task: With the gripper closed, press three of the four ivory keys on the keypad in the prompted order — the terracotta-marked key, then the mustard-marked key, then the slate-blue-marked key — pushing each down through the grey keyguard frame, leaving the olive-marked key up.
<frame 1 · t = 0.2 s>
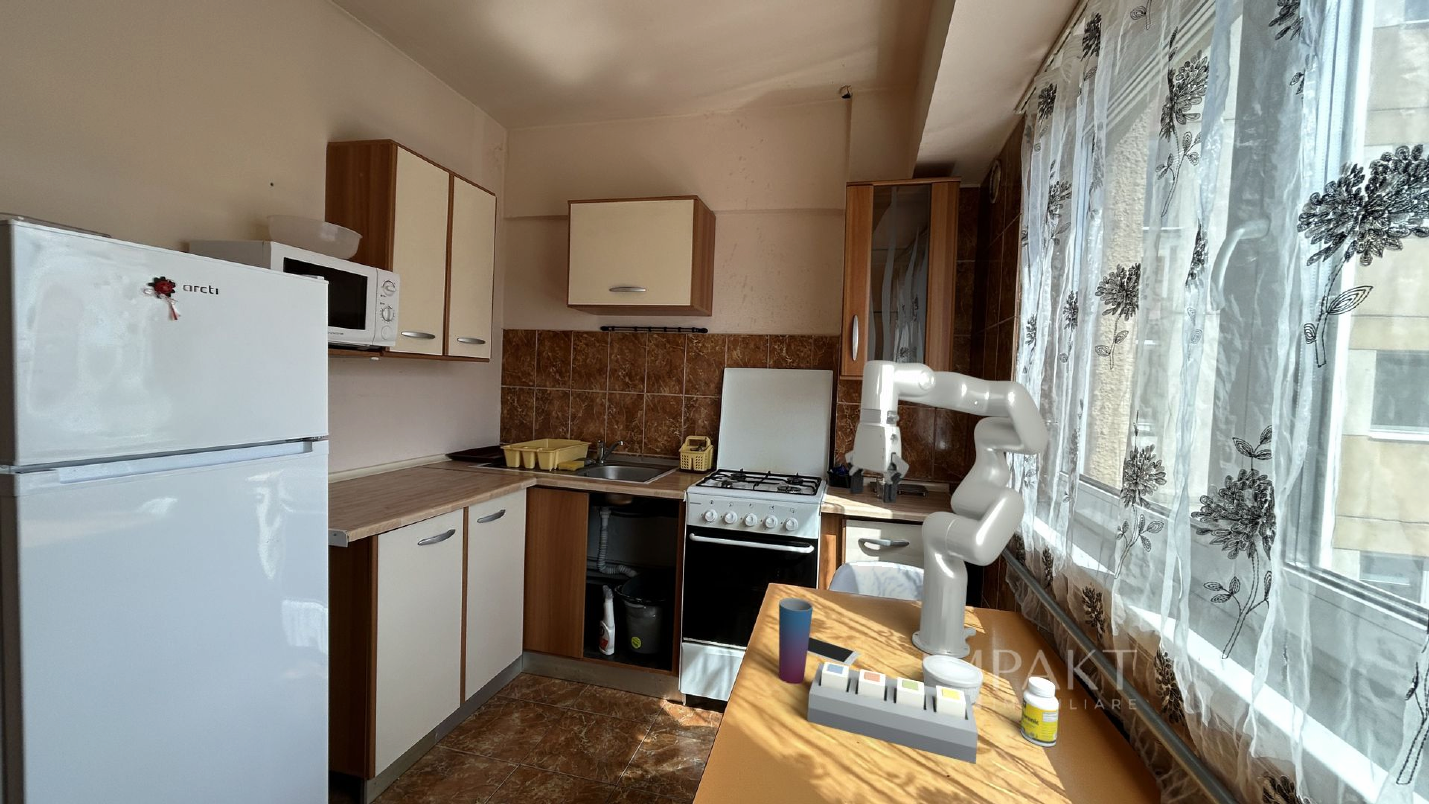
hand: (872, 498, 118), 36 cm above the table, tool pointing down, fingers open, 9 cm apart
key terracotta: (871, 685, 99), point 6 cm above the table, slide at 0.0 cm
key olive: (910, 693, 97), point 6 cm above the table, slide at 0.0 cm
keypad: (888, 722, 98), on the table
supplement bottle: (1037, 739, 96), on the table
key slate: (835, 676, 102), point 6 cm above the table, slide at 0.0 cm
key mustard: (950, 702, 95), point 6 cm above the table, slide at 0.0 cm
ramekin: (950, 695, 109), on the table
cup: (791, 678, 112), on the table
smartphone: (823, 652, 125), on the table
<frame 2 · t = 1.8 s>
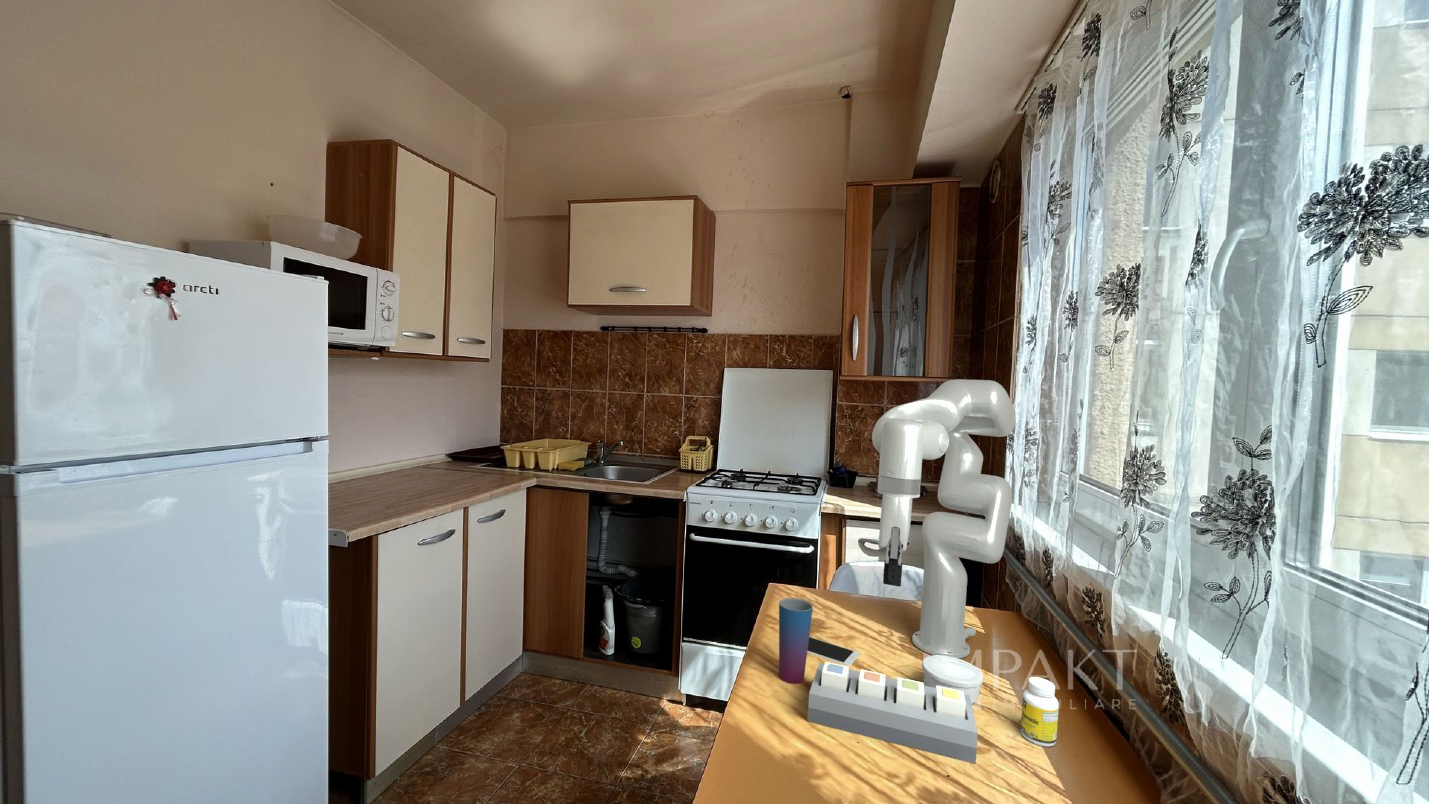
hand: (891, 583, 104), 23 cm above the table, tool pointing down, fingers closed
nothing on the table moved.
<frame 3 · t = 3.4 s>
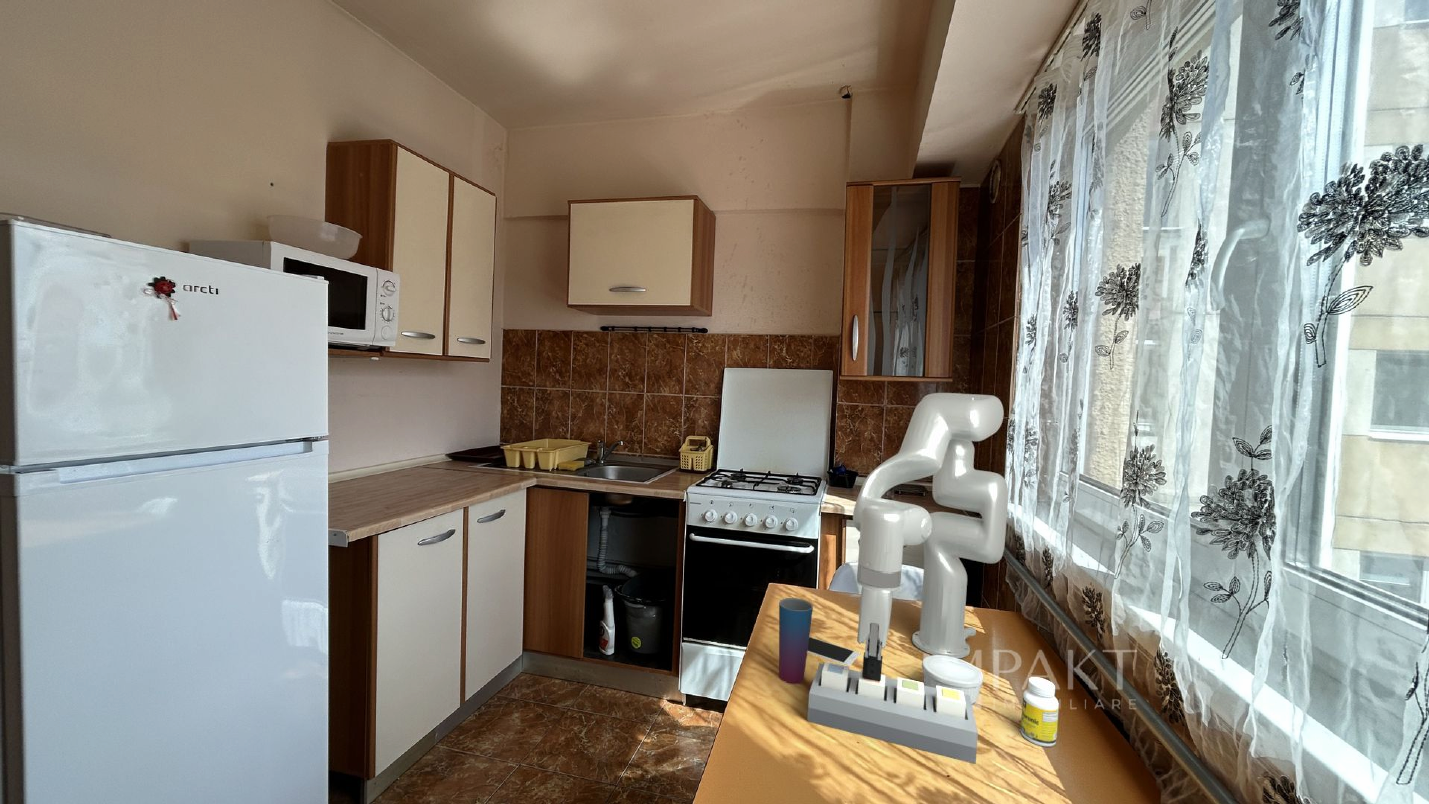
hand: (871, 677, 99), 7 cm above the table, tool pointing down, fingers closed
key terracotta: (871, 685, 99), point 6 cm above the table, slide at -0.2 cm, touching gripper
everything else where it was.
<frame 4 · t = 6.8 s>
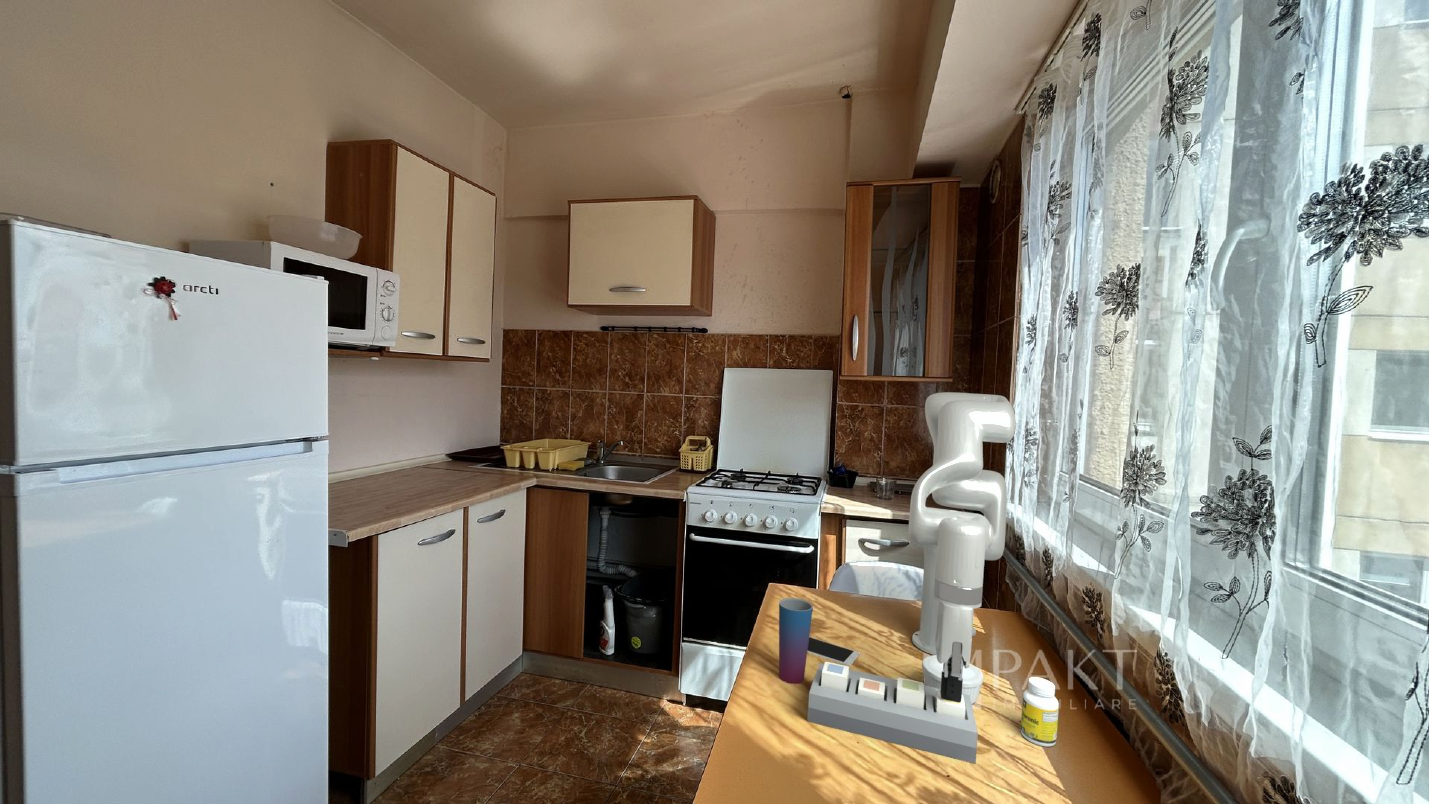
hand: (950, 698, 95), 7 cm above the table, tool pointing down, fingers closed
key terracotta: (871, 693, 99), point 4 cm above the table, slide at -1.6 cm
key mustard: (949, 706, 95), point 5 cm above the table, slide at -0.7 cm, touching gripper
everything else where it was.
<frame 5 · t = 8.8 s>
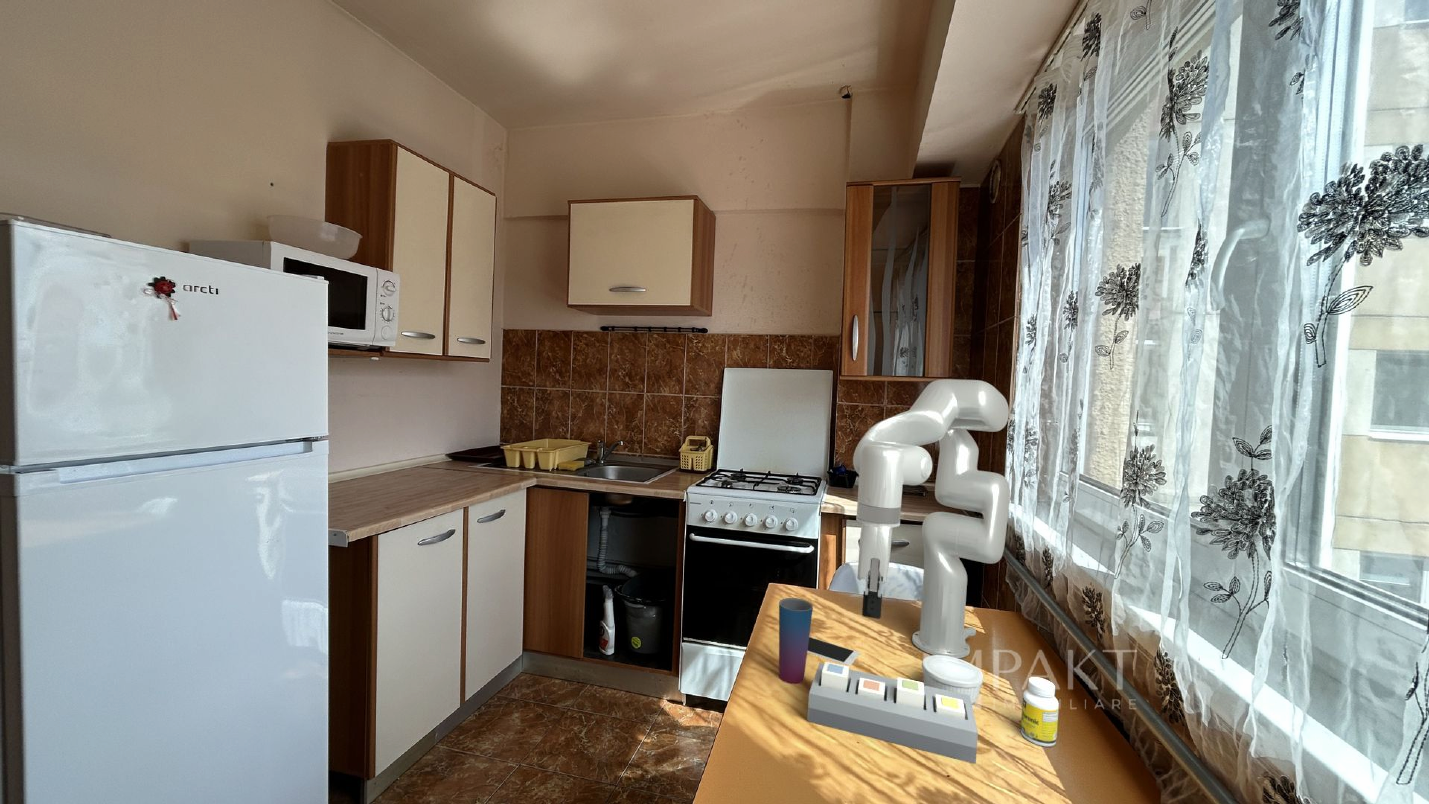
hand: (871, 615, 99), 18 cm above the table, tool pointing down, fingers closed
key mustard: (949, 711, 95), point 4 cm above the table, slide at -1.6 cm
everything else where it was.
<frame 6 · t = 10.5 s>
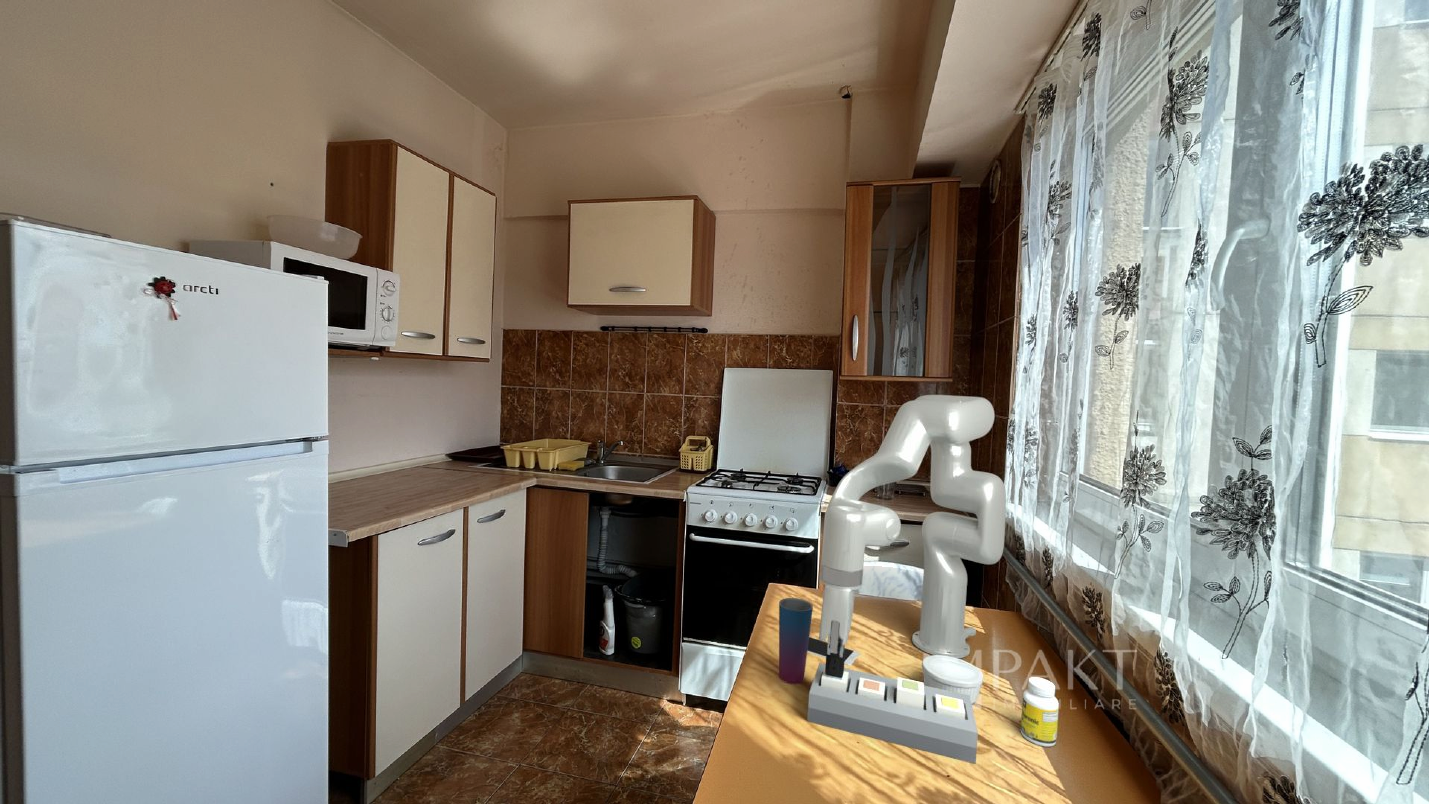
hand: (834, 674, 101), 7 cm above the table, tool pointing down, fingers closed
key slate: (834, 682, 102), point 5 cm above the table, slide at -1.1 cm, touching gripper
everything else where it was.
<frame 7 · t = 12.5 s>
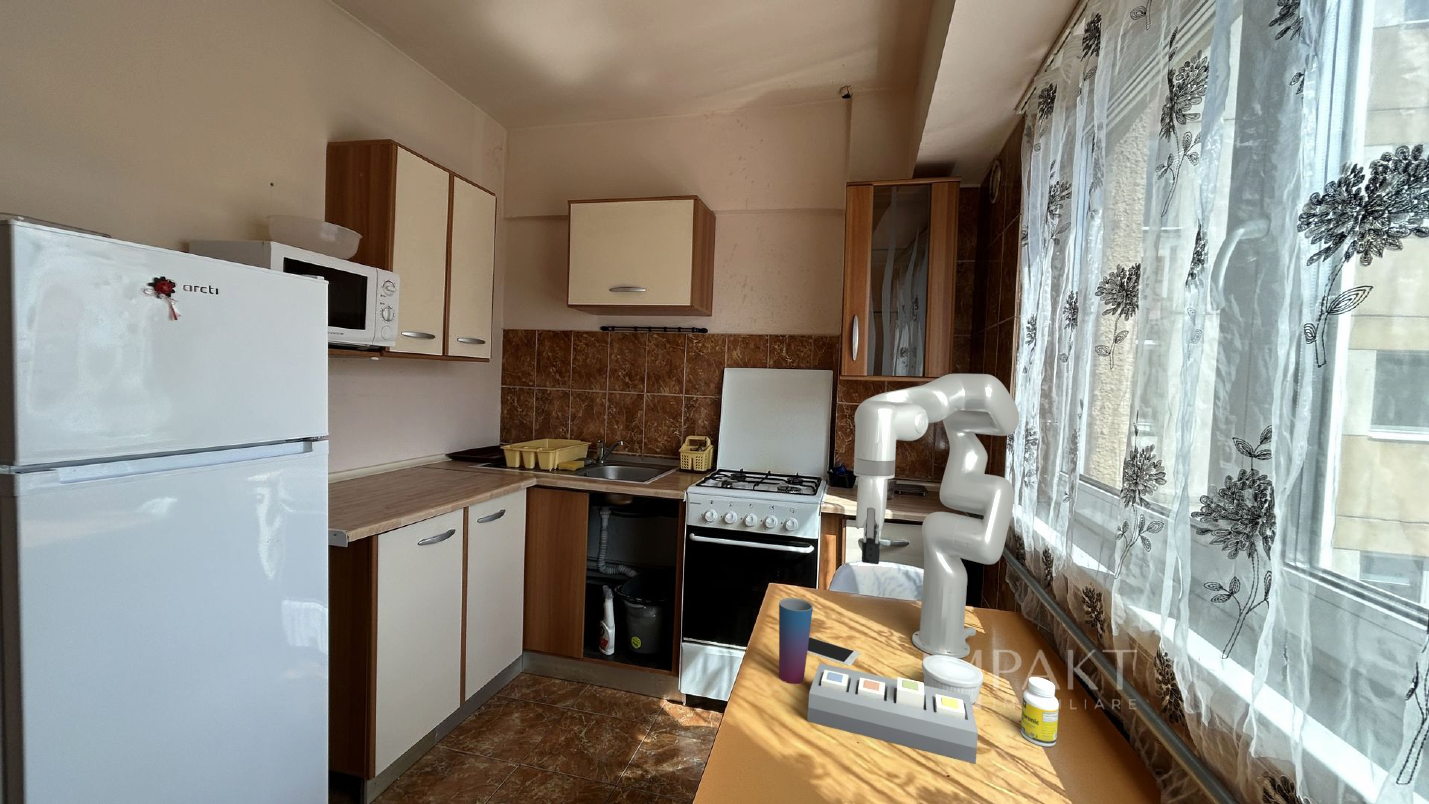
hand: (870, 561, 107), 26 cm above the table, tool pointing down, fingers closed
key slate: (834, 685, 102), point 4 cm above the table, slide at -1.6 cm
everything else where it was.
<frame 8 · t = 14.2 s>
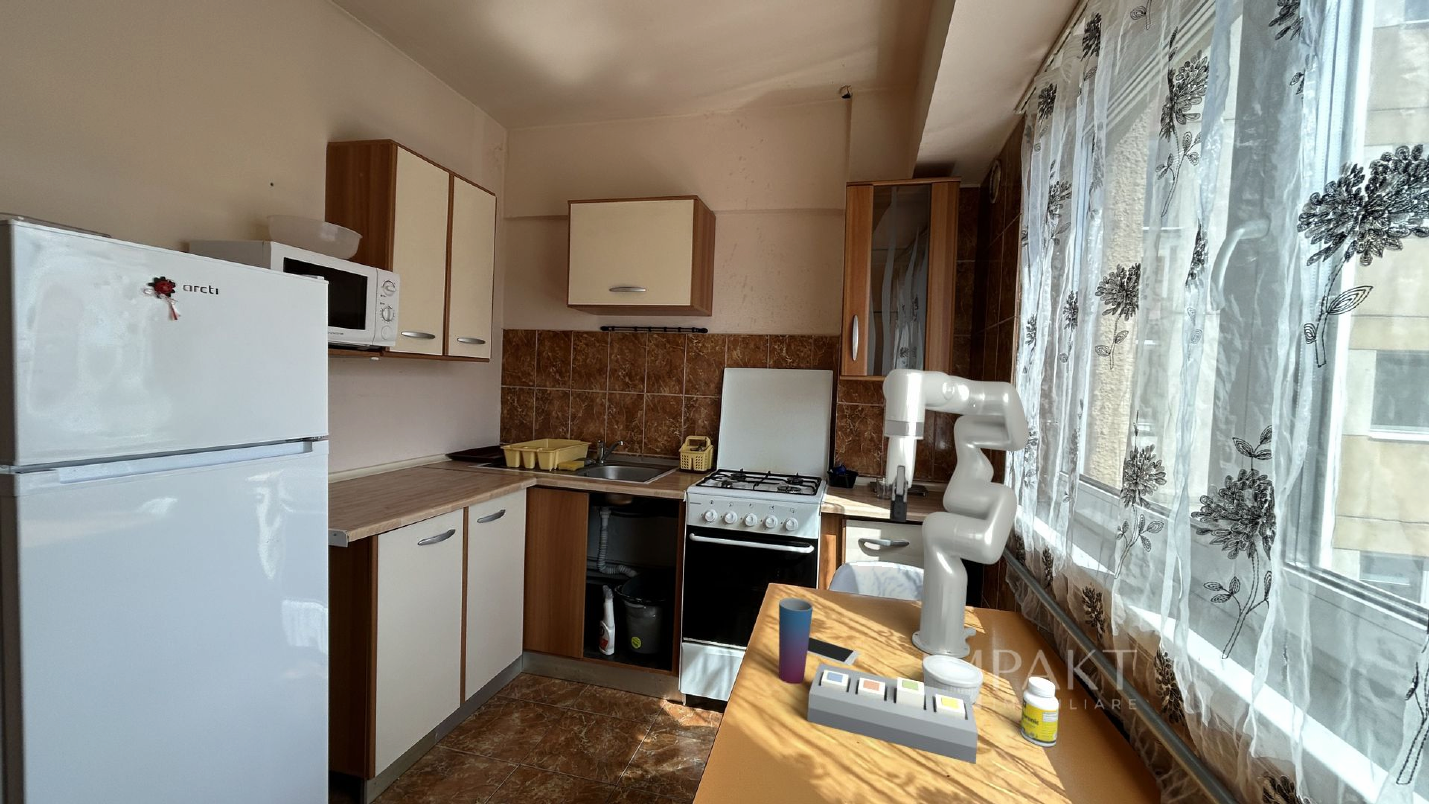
hand: (897, 520, 112), 33 cm above the table, tool pointing down, fingers closed
nothing on the table moved.
at the end: key terracotta slide at -1.6 cm; key mustard slide at -1.6 cm; key slate slide at -1.6 cm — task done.
